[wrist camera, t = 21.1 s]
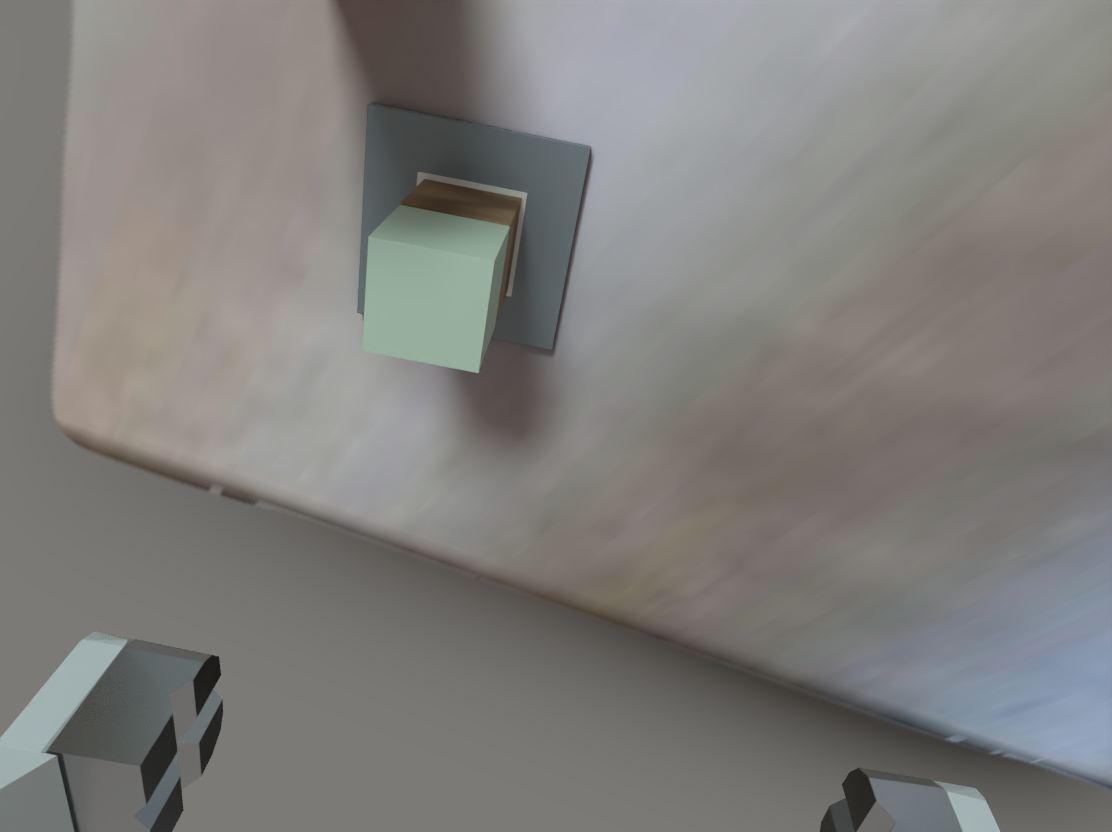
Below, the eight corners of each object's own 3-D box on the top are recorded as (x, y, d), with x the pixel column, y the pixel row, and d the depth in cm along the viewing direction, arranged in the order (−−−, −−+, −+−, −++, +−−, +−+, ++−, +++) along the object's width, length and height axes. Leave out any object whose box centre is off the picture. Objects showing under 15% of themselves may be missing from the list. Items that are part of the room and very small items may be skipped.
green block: (509, 226, 34) (494, 260, 30) (494, 327, 37) (478, 373, 32) (399, 204, 34) (368, 236, 30) (392, 307, 37) (362, 350, 32)
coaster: (590, 146, 38) (590, 148, 37) (552, 345, 43) (551, 350, 43) (371, 102, 37) (367, 104, 37) (360, 308, 43) (356, 313, 42)
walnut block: (521, 197, 39) (510, 224, 34) (507, 290, 41) (494, 326, 37) (424, 178, 38) (400, 203, 34) (415, 272, 41) (392, 306, 37)
